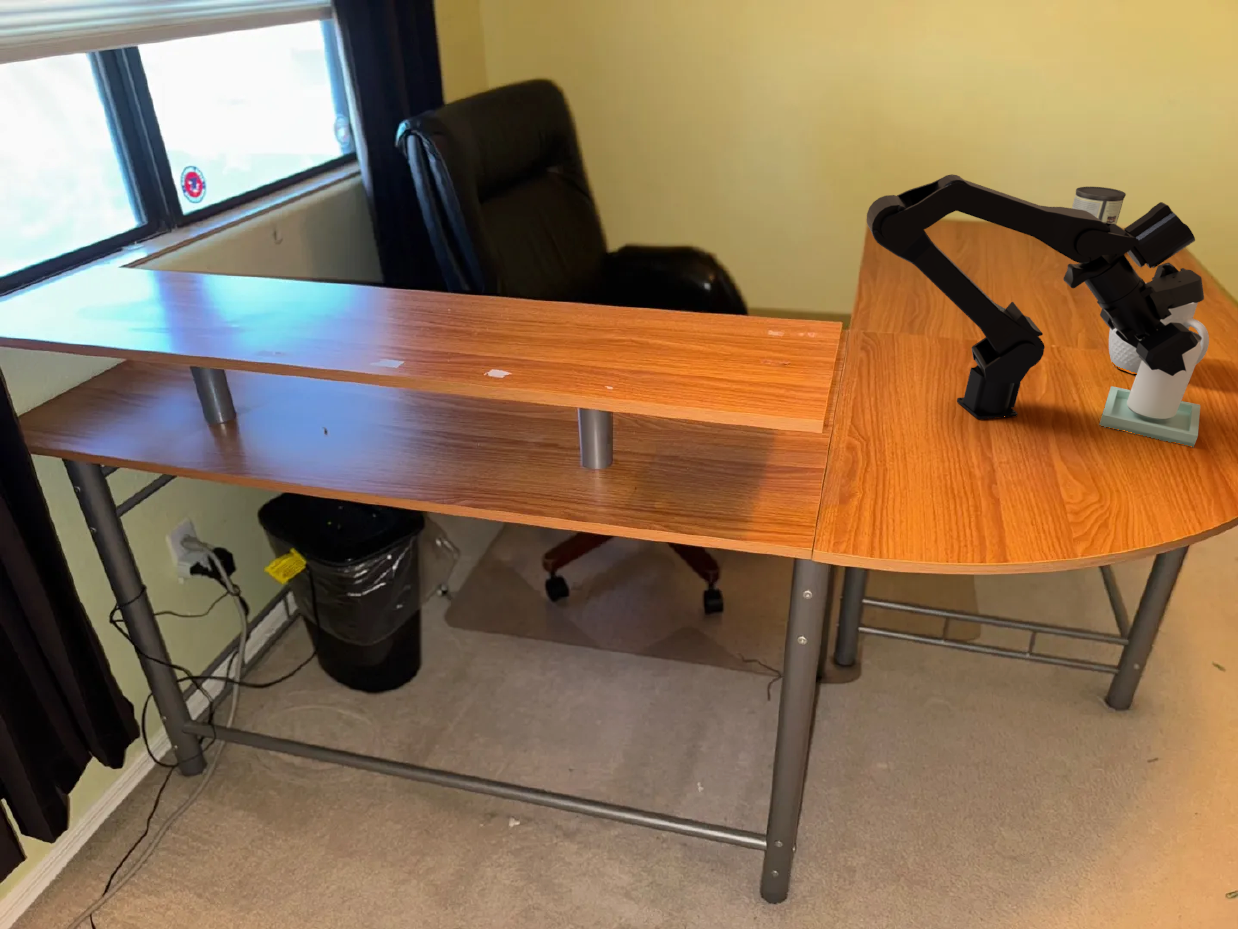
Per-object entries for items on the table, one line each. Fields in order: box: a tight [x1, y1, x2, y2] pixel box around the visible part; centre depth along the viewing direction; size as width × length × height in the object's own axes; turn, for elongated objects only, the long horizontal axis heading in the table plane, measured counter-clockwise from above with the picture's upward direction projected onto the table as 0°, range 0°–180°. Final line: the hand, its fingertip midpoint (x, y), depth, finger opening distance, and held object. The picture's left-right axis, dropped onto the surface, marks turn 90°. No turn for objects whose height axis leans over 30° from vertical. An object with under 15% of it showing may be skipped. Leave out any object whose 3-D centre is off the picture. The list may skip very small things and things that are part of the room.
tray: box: [1098, 385, 1201, 448], centre depth 129 cm, size 12×12×2 cm
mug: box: [1108, 302, 1210, 373], centre depth 142 cm, size 15×11×13 cm
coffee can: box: [1071, 186, 1127, 225], centre depth 205 cm, size 10×10×14 cm
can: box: [1127, 330, 1202, 420], centre depth 126 cm, size 6×6×12 cm
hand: (1175, 369), depth 125 cm, fingers closed on can, 5 cm apart
